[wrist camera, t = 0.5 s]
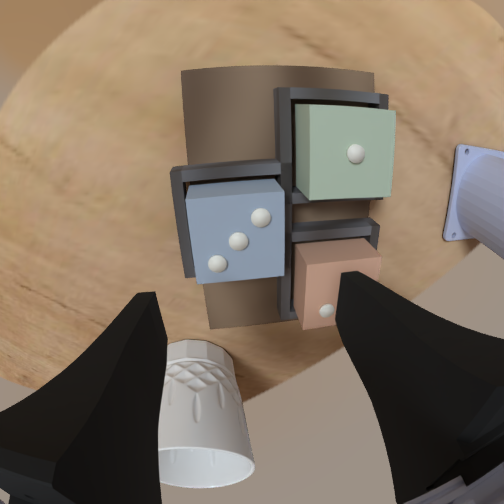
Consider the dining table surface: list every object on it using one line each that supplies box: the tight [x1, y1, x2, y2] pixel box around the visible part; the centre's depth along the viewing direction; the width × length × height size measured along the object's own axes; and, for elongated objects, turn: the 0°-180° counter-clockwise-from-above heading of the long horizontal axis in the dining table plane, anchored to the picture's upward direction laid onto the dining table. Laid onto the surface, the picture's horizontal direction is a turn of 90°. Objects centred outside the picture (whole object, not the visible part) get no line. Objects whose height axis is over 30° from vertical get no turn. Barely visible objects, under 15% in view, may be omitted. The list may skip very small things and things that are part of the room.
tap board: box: [170, 66, 388, 329], centre depth 18 cm, size 12×17×2 cm
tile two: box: [293, 238, 382, 330], centre depth 18 cm, size 4×4×3 cm
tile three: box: [185, 179, 285, 284], centre depth 16 cm, size 4×4×3 cm
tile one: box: [295, 104, 396, 200], centre depth 14 cm, size 4×4×3 cm
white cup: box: [158, 339, 255, 488], centre depth 20 cm, size 8×8×10 cm
